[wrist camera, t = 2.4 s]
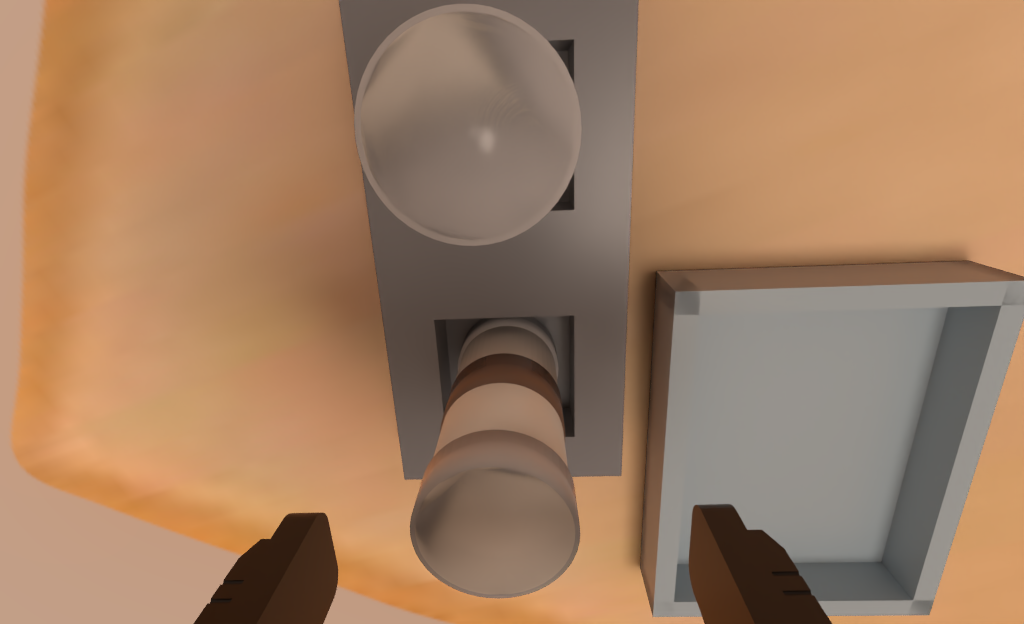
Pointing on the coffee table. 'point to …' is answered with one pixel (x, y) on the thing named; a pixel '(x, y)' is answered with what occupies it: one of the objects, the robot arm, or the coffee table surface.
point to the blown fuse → (500, 469)
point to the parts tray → (824, 419)
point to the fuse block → (520, 244)
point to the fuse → (467, 124)
